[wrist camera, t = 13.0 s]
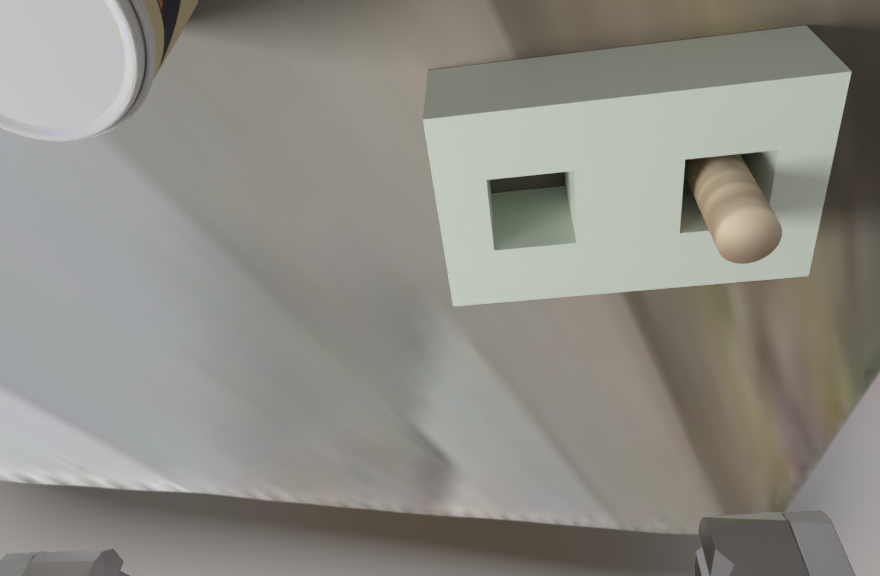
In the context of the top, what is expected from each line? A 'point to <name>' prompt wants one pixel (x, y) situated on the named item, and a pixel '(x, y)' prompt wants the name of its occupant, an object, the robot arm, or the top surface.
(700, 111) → the hole block
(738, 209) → the peg
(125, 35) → the coffee cup
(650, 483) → the top surface
